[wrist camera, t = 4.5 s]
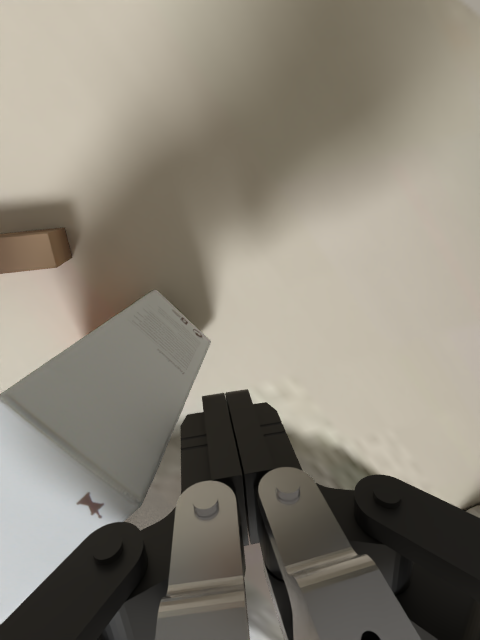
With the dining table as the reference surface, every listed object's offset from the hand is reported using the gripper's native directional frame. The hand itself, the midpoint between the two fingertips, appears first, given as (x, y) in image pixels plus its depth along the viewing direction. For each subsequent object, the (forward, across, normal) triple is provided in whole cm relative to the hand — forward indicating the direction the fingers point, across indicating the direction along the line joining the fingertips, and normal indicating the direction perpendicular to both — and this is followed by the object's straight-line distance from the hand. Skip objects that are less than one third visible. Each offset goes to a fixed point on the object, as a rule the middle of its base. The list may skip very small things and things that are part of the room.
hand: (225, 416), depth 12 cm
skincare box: (+9, +3, +2) cm, 10 cm away
